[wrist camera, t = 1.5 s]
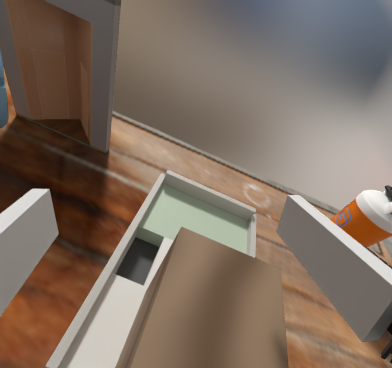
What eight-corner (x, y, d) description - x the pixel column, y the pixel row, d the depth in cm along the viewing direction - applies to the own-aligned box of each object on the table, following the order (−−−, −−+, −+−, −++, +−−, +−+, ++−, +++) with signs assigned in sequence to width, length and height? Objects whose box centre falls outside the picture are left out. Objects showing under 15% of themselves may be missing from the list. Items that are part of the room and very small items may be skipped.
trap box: (52, 370, 23) (42, 364, 18) (155, 190, 45) (163, 167, 40) (227, 434, 24) (260, 445, 19) (243, 229, 46) (260, 210, 42)
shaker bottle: (327, 241, 53) (406, 190, 40) (339, 275, 47) (438, 228, 34) (297, 229, 52) (367, 174, 39) (305, 262, 46) (393, 209, 33)
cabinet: (16, 115, 46) (-33, -73, 27) (49, 101, 53) (27, -56, 35) (105, 154, 47) (115, -1, 29) (125, 135, 55) (144, 1, 36)
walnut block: (109, 382, 21) (129, 371, 10) (145, 291, 27) (181, 226, 17) (191, 413, 21) (293, 433, 11) (208, 316, 28) (280, 268, 17)
